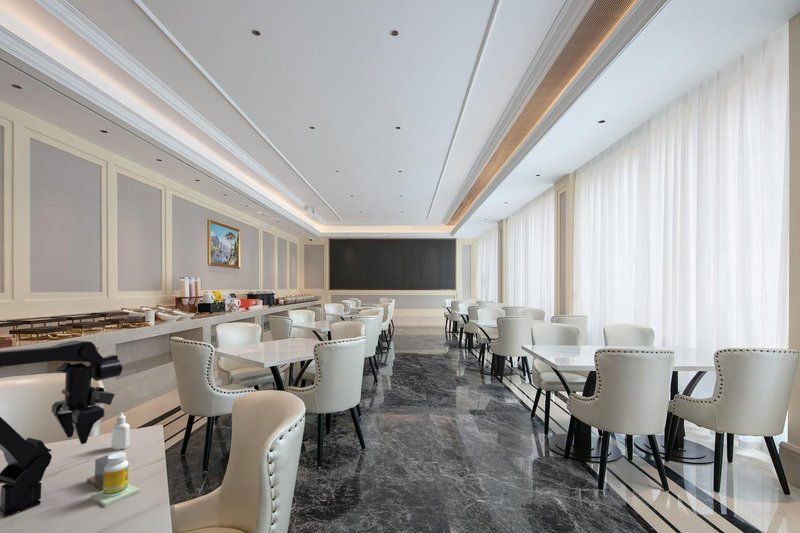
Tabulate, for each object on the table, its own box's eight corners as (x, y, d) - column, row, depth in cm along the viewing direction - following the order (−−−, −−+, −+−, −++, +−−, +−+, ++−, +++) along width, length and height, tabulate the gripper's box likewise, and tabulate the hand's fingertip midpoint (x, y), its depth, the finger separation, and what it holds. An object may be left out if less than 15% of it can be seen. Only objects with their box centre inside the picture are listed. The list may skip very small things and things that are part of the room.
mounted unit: (102, 491, 103) (103, 469, 104) (86, 482, 108) (87, 460, 109) (127, 481, 108) (128, 460, 109) (111, 473, 114) (111, 452, 114)
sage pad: (105, 507, 96) (105, 503, 96) (91, 498, 100) (91, 495, 100) (139, 492, 103) (139, 489, 103) (125, 484, 107) (125, 481, 107)
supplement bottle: (102, 491, 102) (103, 454, 102) (127, 484, 105) (128, 449, 106) (103, 499, 98) (104, 461, 98) (128, 492, 101) (129, 455, 102)
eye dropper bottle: (115, 452, 128) (116, 416, 128) (110, 447, 131) (111, 412, 132) (130, 448, 131) (131, 412, 132) (125, 443, 135) (126, 409, 135)
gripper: (126, 382, 111) (124, 437, 110) (97, 375, 121) (95, 425, 120) (79, 392, 102) (77, 451, 101) (51, 383, 111) (49, 437, 110)
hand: (76, 440), depth 108 cm, fingers open, 9 cm apart
